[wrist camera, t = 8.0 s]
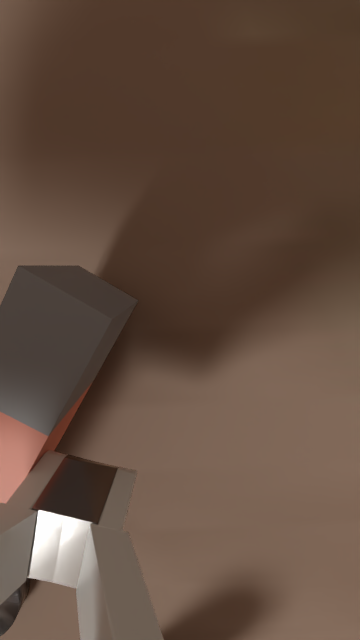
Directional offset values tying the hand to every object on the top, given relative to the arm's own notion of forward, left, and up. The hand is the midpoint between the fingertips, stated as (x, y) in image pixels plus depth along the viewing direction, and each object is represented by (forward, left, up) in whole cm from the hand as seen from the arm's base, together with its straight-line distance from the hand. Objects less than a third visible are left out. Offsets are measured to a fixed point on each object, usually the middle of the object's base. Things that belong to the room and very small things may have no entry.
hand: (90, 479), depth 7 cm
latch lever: (-3, 0, -2) cm, 4 cm away
